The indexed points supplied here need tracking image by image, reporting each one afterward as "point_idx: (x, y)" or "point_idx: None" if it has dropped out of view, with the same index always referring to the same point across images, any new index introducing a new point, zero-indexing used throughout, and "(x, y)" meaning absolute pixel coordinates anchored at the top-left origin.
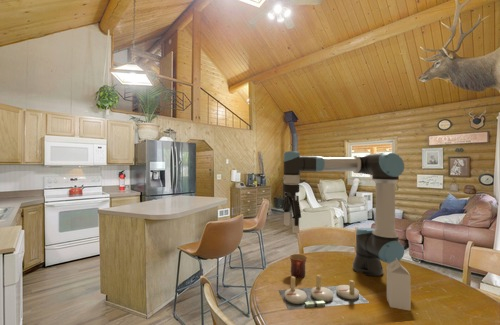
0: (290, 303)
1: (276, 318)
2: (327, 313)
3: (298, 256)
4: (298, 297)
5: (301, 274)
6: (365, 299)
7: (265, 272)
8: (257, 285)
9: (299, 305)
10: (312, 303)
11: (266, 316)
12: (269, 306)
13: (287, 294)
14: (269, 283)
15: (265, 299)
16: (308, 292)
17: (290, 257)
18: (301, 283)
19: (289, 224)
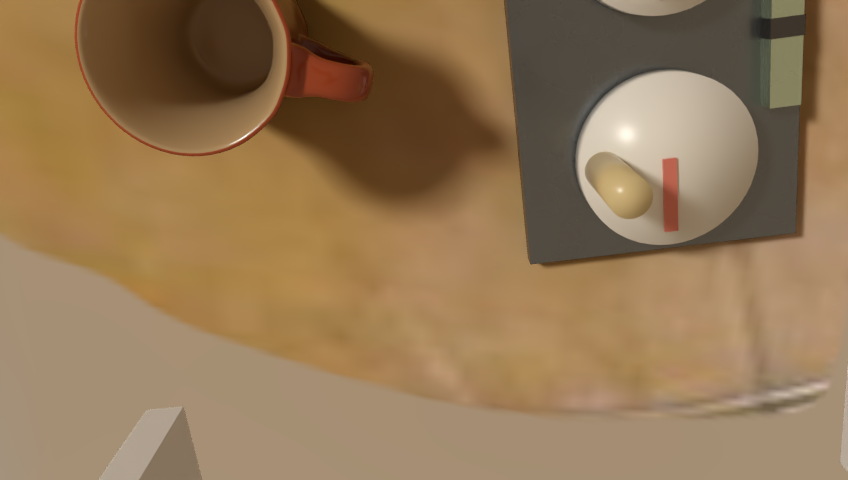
0: None
1: (828, 308)
2: None
3: (103, 24)
4: (722, 149)
5: (300, 20)
6: None
7: (180, 315)
8: (412, 390)
9: (759, 146)
10: (798, 52)
11: (797, 362)
12: (695, 335)
13: (676, 228)
14: (379, 303)
15: (608, 352)
16: (581, 24)
17: (204, 150)
18: (374, 34)
19: (176, 425)
